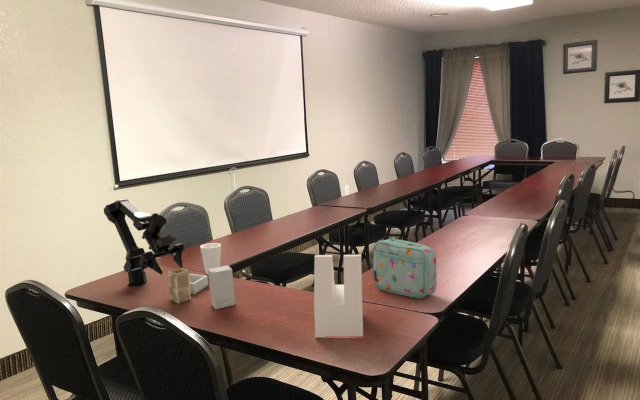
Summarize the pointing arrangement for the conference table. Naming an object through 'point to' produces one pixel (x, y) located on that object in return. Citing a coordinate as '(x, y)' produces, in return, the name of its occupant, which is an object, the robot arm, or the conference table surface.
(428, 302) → the conference table surface
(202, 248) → the foam cup
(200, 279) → the white tray
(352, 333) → the white notched block
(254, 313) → the conference table surface
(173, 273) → the birch caddy
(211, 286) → the skincare box
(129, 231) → the robot arm
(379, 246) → the lunch box
